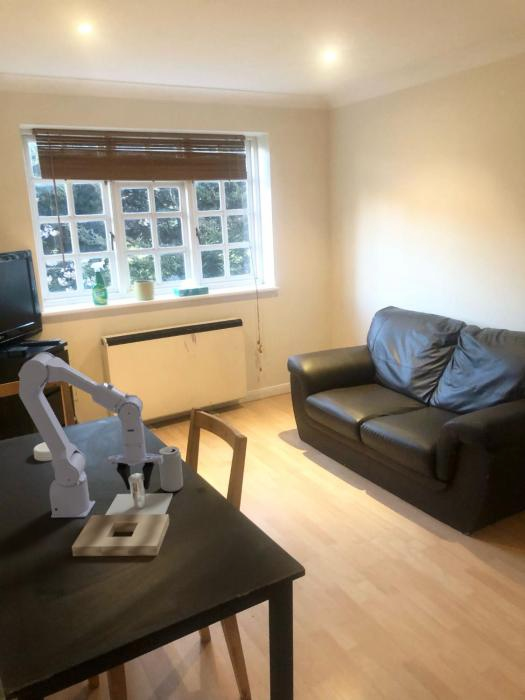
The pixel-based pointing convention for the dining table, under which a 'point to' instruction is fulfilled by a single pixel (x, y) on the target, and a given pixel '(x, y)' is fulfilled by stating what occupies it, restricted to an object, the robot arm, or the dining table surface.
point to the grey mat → (153, 506)
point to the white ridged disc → (42, 452)
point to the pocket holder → (142, 542)
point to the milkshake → (137, 490)
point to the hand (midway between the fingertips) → (138, 488)
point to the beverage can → (171, 469)
